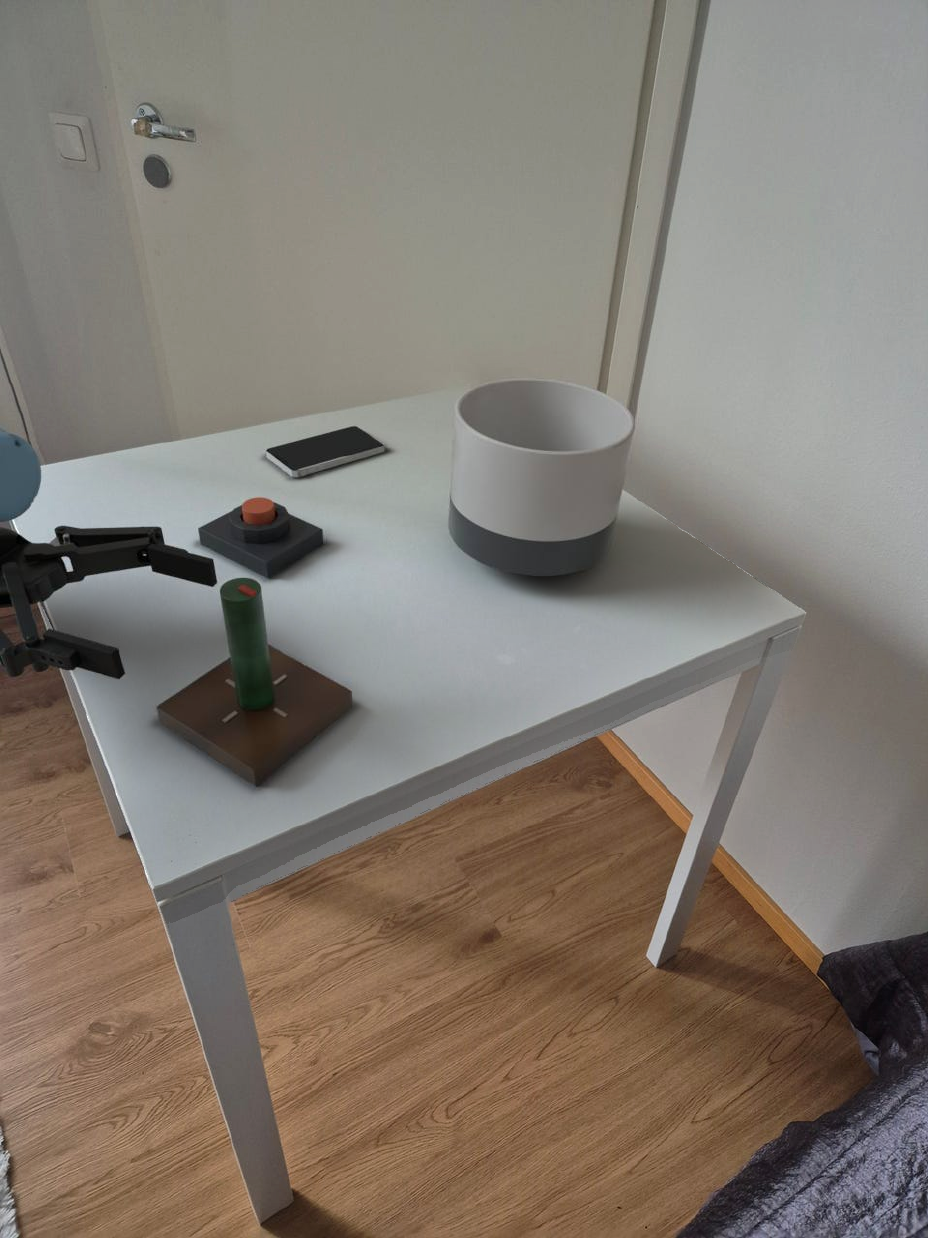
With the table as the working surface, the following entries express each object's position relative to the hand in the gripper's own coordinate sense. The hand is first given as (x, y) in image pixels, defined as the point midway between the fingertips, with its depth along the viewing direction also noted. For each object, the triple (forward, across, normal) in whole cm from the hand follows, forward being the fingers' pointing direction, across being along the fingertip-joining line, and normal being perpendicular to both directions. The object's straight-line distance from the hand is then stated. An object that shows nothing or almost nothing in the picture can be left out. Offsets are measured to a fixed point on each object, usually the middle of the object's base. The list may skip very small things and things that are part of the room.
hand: (170, 615), depth 68 cm
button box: (-6, -25, -9) cm, 27 cm away
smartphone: (-9, -48, -9) cm, 50 cm away
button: (-6, -25, -5) cm, 26 cm away
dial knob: (+8, 0, -7) cm, 10 cm away
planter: (+23, -36, -9) cm, 44 cm away
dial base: (+8, 0, -9) cm, 12 cm away
